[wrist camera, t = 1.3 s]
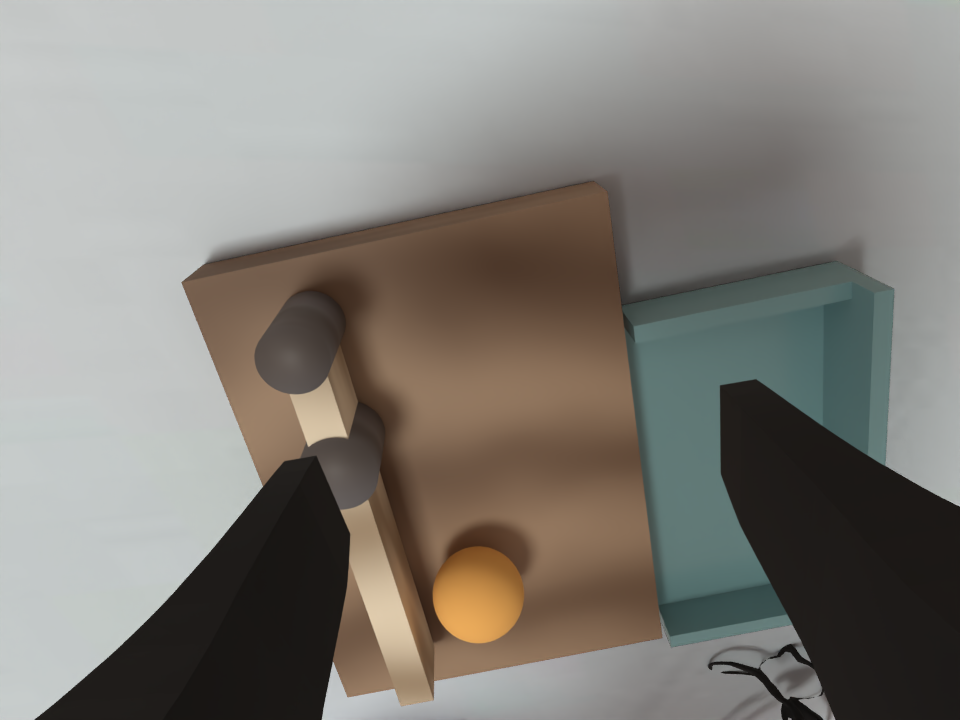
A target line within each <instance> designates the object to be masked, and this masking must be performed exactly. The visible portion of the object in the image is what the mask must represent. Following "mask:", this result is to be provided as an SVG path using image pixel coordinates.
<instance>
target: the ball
mask: <svg viewBox="0 0 960 720" xmlns="http://www.w3.org/2000/svg"><path fill="white" fill-rule="evenodd" d="M523 603H524V587H523V582H522V579H521V576H520V574H519V572H518V570H517V568H516V567H515V565H514V564H513V562H512V561H511V560H510V559H509V558H508V557H506V556H505V555H504V554H502V553H501V552H499V551H497V550H495V549H492V548H489V547H482V546H474V547H468V548H465V549H462V550H460V551H458V552H456V553H455V554H453V555H452V556H450V557H449V558H448V559H447V560H446V561H445V562H444V564H443V565H442V566H441V568H440V569H439V571H438V573H437V575H436V578H435V582H434V586H433V604H434V608H435V612H436V614H437V616H438V619H439V620H440V622H441V623H442V625H443V626H444V627H445V629H446V630H447V631H449V632H450V633H451V634H452V635H453V636H455V637H457V638H459V639H461V640H463V641H466V642H470V643H487V642H491V641H494V640H496V639H498V638H500V637H502V636H503V635H505V634H506V633H507V632H508V631H509V630H510V629H511V628H512V627H513V626H514V625H515V623H516V622H517V620H518V618H519V616H520V614H521V611H522V608H523Z"/></svg>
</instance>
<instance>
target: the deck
mask: <svg viewBox="0 0 960 720" xmlns="http://www.w3.org/2000/svg"><path fill="white" fill-rule="evenodd" d="M181 283H182V285H183V288H184V290H185V293H186V295H187V298H188V300H189V303H190V305H191V307H192V310H193V312H194V315H195V317H196V320H197V322H198V325H199V327H200V330H201V332H202V335H203V337H204V340H205V342H206V345H207V347H208V350H209V352H210V355H211V357H212V360H213V362H214V365H215V367H216V370H217V372H218V375H219V377H220V380H221V382H222V385H223V387H224V390H225V392H226V395H227V397H228V400H229V402H230V405H231V407H232V410H233V412H234V415H235V417H236V420H237V422H238V425H239V427H240V430H241V432H242V435H243V437H244V440H245V442H246V445H247V447H248V450H249V452H250V455H251V457H252V460H253V462H254V465H255V467H256V470H257V472H258V475H259V477H260V480H261V482H262V485H263V486H264V485H265V484H266V482H267V481H268V480H269V479H270V477H271V476H272V475H273V474H274V473H275V471H276V470H277V469H278V468H279V467H280V466H281V464H282V463H283V462H284V461H288V460H294V459H299V458H300V457H301V454H302V452H303V449H304V446H305V444H306V439H305V436H304V433H303V431H302V428H301V425H300V422H299V419H298V417H297V414H296V411H295V408H294V405H293V403H292V400H291V397H290V394H287V393H283V392H280V391H278V390H276V389H274V388H272V387H271V386H269V385H268V384H267V383H266V382H265V381H264V380H263V379H262V378H261V376H260V375H259V373H258V371H257V369H256V365H255V360H254V354H255V349H256V346H257V344H258V342H259V340H260V339H261V337H262V336H263V334H264V333H265V332H266V330H267V329H268V327H269V326H270V324H271V323H272V321H273V320H274V318H275V317H276V316H277V314H278V313H279V311H280V310H281V308H282V307H283V305H284V304H285V302H286V301H287V300H288V299H289V298H291V297H292V296H293V295H295V294H297V293H300V292H304V291H316V292H321V293H323V294H326V295H328V296H329V297H331V298H332V299H334V300H335V301H336V302H337V303H338V304H339V306H340V307H341V309H342V311H343V313H344V315H345V320H346V328H345V332H344V335H343V337H342V340H341V343H340V346H341V349H342V352H343V355H344V359H345V362H346V365H347V368H348V371H349V375H350V378H351V381H352V384H353V387H354V391H355V394H356V397H357V400H358V402H360V403H363V404H365V405H367V406H369V407H370V408H372V409H373V410H374V411H375V412H376V413H377V414H378V415H379V416H380V418H381V419H382V421H383V424H384V427H385V441H384V447H383V453H382V459H381V465H380V474H381V477H382V480H383V483H384V487H385V490H386V493H387V496H388V499H389V503H390V506H391V509H392V512H393V515H394V519H395V522H396V525H397V528H398V531H399V535H400V538H401V541H402V544H403V547H404V551H405V554H406V557H407V560H408V563H409V567H410V570H411V573H412V576H413V580H414V583H415V586H416V589H417V592H418V596H419V599H420V602H421V605H422V608H423V612H424V615H425V618H426V621H427V624H428V628H429V631H430V634H431V637H432V640H433V644H434V647H435V654H434V681H437V680H443V679H448V678H453V677H458V676H464V675H469V674H474V673H480V672H485V671H490V670H496V669H501V668H506V667H511V666H517V665H522V664H527V663H533V662H538V661H543V660H549V659H554V658H559V657H564V656H570V655H575V654H580V653H586V652H591V651H596V650H602V649H607V648H612V647H617V646H623V645H628V644H633V643H639V642H644V641H649V640H654V639H660V638H662V631H661V623H660V614H659V606H658V598H657V590H656V582H655V574H654V566H653V558H652V549H651V541H650V533H649V525H648V517H647V509H646V501H645V492H644V484H643V476H642V468H641V460H640V452H639V444H638V436H637V427H636V419H635V411H634V403H633V395H632V387H631V379H630V371H629V362H628V354H627V346H626V338H625V330H624V322H623V314H622V306H621V297H620V289H619V281H618V273H617V265H616V257H615V249H614V241H613V232H612V224H611V216H610V208H609V200H608V192H607V191H606V190H605V189H603V188H602V187H601V186H599V185H598V184H597V183H595V182H594V181H592V182H587V183H582V184H578V185H573V186H568V187H564V188H559V189H554V190H550V191H545V192H540V193H536V194H531V195H526V196H522V197H517V198H512V199H508V200H503V201H498V202H494V203H489V204H484V205H480V206H475V207H470V208H466V209H461V210H456V211H452V212H447V213H442V214H438V215H433V216H428V217H424V218H419V219H414V220H410V221H405V222H400V223H396V224H391V225H386V226H382V227H377V228H372V229H368V230H363V231H358V232H354V233H349V234H344V235H340V236H335V237H330V238H326V239H321V240H316V241H312V242H307V243H302V244H298V245H293V246H288V247H284V248H279V249H274V250H270V251H265V252H260V253H256V254H251V255H246V256H242V257H237V258H232V259H228V260H223V261H218V262H214V263H209V264H204V265H202V266H201V267H200V268H199V269H197V270H196V271H195V272H194V273H193V274H191V275H190V276H189V277H188V278H186V279H185V280H184V281H183V282H181ZM474 546H482V547H489V548H492V549H495V550H497V551H499V552H501V553H502V554H504V555H505V556H506V557H508V558H509V559H510V560H511V561H512V562H513V564H514V565H515V567H516V568H517V570H518V572H519V574H520V576H521V579H522V582H523V587H524V603H523V608H522V611H521V614H520V616H519V618H518V620H517V622H516V623H515V625H514V626H513V627H512V628H511V629H510V630H509V631H508V632H507V633H506V634H505V635H503V636H502V637H500V638H498V639H496V640H494V641H491V642H487V643H470V642H466V641H463V640H461V639H459V638H457V637H455V636H453V635H452V634H451V633H450V632H449V631H447V630H446V629H445V627H444V626H443V625H442V623H441V622H440V620H439V619H438V616H437V614H436V612H435V608H434V604H433V586H434V582H435V578H436V575H437V573H438V571H439V569H440V568H441V566H442V565H443V564H444V562H445V561H446V560H447V559H448V558H449V557H450V556H452V555H453V554H455V553H456V552H458V551H460V550H462V549H465V548H468V547H474ZM333 662H334V664H335V667H336V669H337V672H338V674H339V677H340V679H341V682H342V684H343V687H344V689H345V692H346V694H347V697H352V696H358V695H363V694H368V693H374V692H379V691H384V690H390V689H395V688H394V685H393V682H392V680H391V677H390V674H389V671H388V668H387V666H386V663H385V660H384V657H383V654H382V652H381V649H380V646H379V643H378V640H377V638H376V635H375V632H374V629H373V626H372V624H371V621H370V618H369V615H368V612H367V610H366V607H365V604H364V601H363V598H362V596H361V593H360V590H359V587H358V584H357V582H356V579H355V576H354V573H353V570H352V568H351V565H350V562H349V570H348V583H347V591H346V596H345V602H344V607H343V612H342V617H341V622H340V628H339V633H338V638H337V643H336V647H335V652H334V657H333Z"/></svg>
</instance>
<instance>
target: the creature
mask: <svg viewBox="0 0 960 720" xmlns="http://www.w3.org/2000/svg"><path fill="white" fill-rule="evenodd" d="M785 652H790V653H791V654H792V655H793V656H794V657H795V659H796V660H797V661H798V662H800V663H803V664H806V665H809V666H810V667H812V668H813V669H814V666H813V664H812V663H811V662H809V661H807V660H806V659H804V658H803V657H801V655H800V654H799V653H798V651H797V650H796V648H795V647H793V646H792V645H791V644H789V645H787V646H785V647H783V648H782V649H781V650H780V652H779V653H778V655H777V656H774V657H770V658H768V659H773V658H777V657H780V656H781V655H783V654H784V653H785ZM765 661H766V660H765ZM765 661H764V662H765ZM764 662H762V663H764ZM762 663H761V664H762ZM713 665H731V666H733V667H736V668H738V669H741V670H743V671H746V672H748V673H740V672H721V673H725V674H744V675H752V676H756V677H757V678H758V679H759V680H760V681H761V682H762V683H763V684H764V685H765V687H766V688H767V690H768V691H769V692H770V693H771V694H772V695H773V696H774V697H775V698H776V699H777V700H778V701H780V702H781V703H783V704H782V708H781V714H782V719H783V720H788V718H792V720H823V719H822V718H821V717H820V716H819V715H818V714H816V713H815V712H813V711H812V710H810V709H809V708H808V707H807V706H805V705H804V704H803V703H801V702H800V701H798V700H799V699H809V698H792V697H790V699H786V698H784V697H783V696H782V694H781V693H780V692H779V690H778V689H777V687H776V686H775V685H774V684H773V683H771V681H770V680H769V679H768V677H767V676H766V675H765V674H764V673H763V672H762V671H761V670H760V668H759V669H757V668H753V667H750V666H746V665H743V664H739V663H735V662H722V661H720V662H713V663H710V664H709V666H708V668H709V669H711V670H712V666H713ZM760 666H761V665H760ZM823 692H824V690H823V688H822V692H821V695H819V696H822V694H823ZM811 698H813V697H811Z"/></svg>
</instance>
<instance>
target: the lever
mask: <svg viewBox="0 0 960 720" xmlns="http://www.w3.org/2000/svg"><path fill="white" fill-rule="evenodd" d="M345 328H346V320H345V315H344V313H343V311H342V309H341V307H340V306H339V304H338V303H337V302H336V301H335V300H334V299H332V298H331V297H329V296H328V295H326V294H323V293H321V292H316V291H304V292H300V293H297V294H295V295H293V296H292V297H291V298H289V299H288V300H287V301H286V302H285V304H284V305H283V307H282V308H281V310H280V311H279V313H278V314H277V316H276V317H275V318H274V320H273V321H272V323H271V324H270V326H269V327H268V329H267V330H266V332H265V333H264V334H263V336H262V337H261V339H260V340H259V342H258V344H257V346H256V349H255V354H254V360H255V365H256V369H257V371H258V373H259V375H260V376H261V378H262V379H263V380H264V381H265V382H266V383H267V384H268V385H269V386H271V387H272V388H274V389H276V390H278V391H280V392H283V393H287V394H290V397H291V400H292V403H293V405H294V408H295V411H296V414H297V417H298V419H299V422H300V425H301V428H302V431H303V433H304V436H305V439H306V444H305V446H304V449H303V452H302V454H301V457H300V458H305V457H311V456H317V458H318V460H319V463H320V465H321V467H322V470H323V472H324V474H325V476H326V479H327V481H328V483H329V486H330V488H331V490H332V493H333V495H334V497H335V499H336V502H337V504H338V506H339V509H340V511H341V513H342V516H343V518H344V520H345V523H346V525H347V527H348V529H349V532H350V554H349V562H350V565H351V568H352V570H353V573H354V576H355V579H356V582H357V584H358V587H359V590H360V593H361V596H362V598H363V601H364V604H365V607H366V610H367V612H368V615H369V618H370V621H371V624H372V626H373V629H374V632H375V635H376V638H377V640H378V643H379V646H380V649H381V652H382V654H383V657H384V660H385V663H386V666H387V668H388V671H389V674H390V677H391V680H392V682H393V685H394V688H395V691H396V694H397V696H398V699H399V702H400V705H401V706H405V705H411V704H416V703H421V702H427V701H432V700H434V654H435V647H434V644H433V640H432V637H431V634H430V631H429V628H428V624H427V621H426V618H425V615H424V612H423V608H422V605H421V602H420V599H419V596H418V592H417V589H416V586H415V583H414V580H413V576H412V573H411V570H410V567H409V563H408V560H407V557H406V554H405V551H404V547H403V544H402V541H401V538H400V535H399V531H398V528H397V525H396V522H395V519H394V515H393V512H392V509H391V506H390V503H389V499H388V496H387V493H386V490H385V487H384V483H383V480H382V477H381V474H380V465H381V459H382V453H383V447H384V441H385V427H384V424H383V421H382V419H381V418H380V416H379V415H378V414H377V413H376V412H375V411H374V410H373V409H372V408H370V407H369V406H367V405H365V404H363V403H360V402H358V400H357V397H356V394H355V391H354V387H353V384H352V381H351V378H350V375H349V371H348V368H347V365H346V362H345V359H344V355H343V352H342V349H341V346H340V343H341V340H342V337H343V335H344V332H345Z"/></svg>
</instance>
